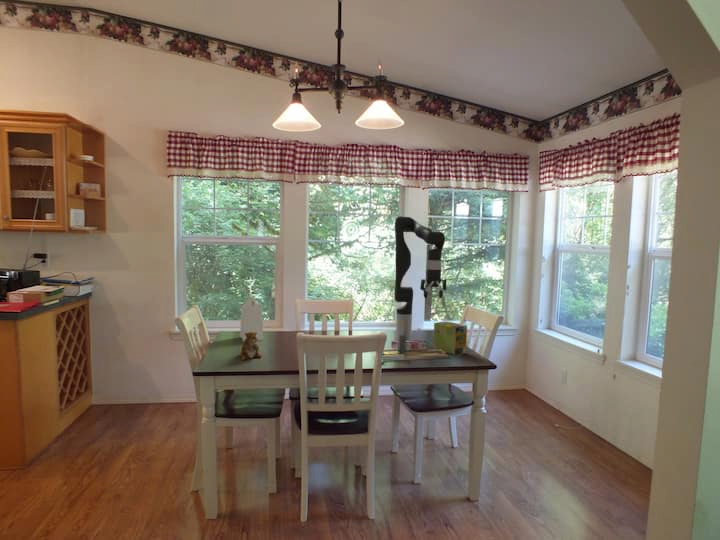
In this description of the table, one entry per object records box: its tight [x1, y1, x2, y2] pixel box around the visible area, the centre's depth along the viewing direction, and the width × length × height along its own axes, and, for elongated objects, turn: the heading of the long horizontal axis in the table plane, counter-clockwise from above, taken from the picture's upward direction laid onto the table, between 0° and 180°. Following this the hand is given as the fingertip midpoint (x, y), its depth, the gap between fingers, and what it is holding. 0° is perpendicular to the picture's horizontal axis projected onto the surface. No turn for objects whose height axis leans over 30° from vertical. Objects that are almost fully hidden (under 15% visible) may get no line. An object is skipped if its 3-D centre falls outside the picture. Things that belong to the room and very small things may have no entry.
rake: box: [398, 335, 406, 355], centre depth 232 cm, size 6×3×11 cm, turn 13°
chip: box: [391, 351, 400, 355], centre depth 231 cm, size 4×4×3 cm
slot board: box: [403, 348, 449, 361], centre depth 235 cm, size 13×24×3 cm, turn 103°
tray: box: [382, 348, 405, 364], centre depth 231 cm, size 12×12×4 cm
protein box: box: [432, 320, 468, 355], centre depth 247 cm, size 10×15×16 cm
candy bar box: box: [391, 339, 428, 351], centre depth 244 cm, size 11×5×16 cm
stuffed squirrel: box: [240, 332, 262, 361], centre depth 229 cm, size 10×14×13 cm
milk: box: [239, 294, 264, 342], centre depth 266 cm, size 12×12×26 cm
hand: (433, 297), depth 244 cm, fingers open, 8 cm apart
